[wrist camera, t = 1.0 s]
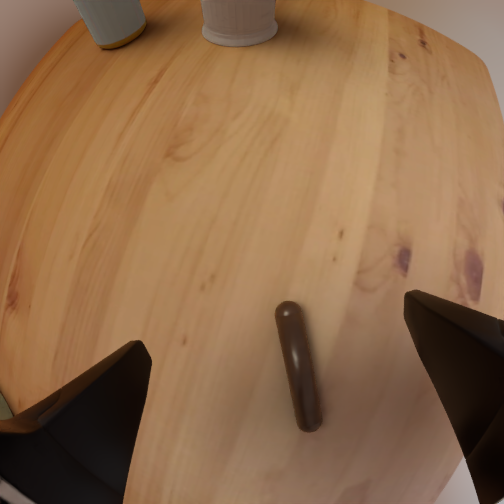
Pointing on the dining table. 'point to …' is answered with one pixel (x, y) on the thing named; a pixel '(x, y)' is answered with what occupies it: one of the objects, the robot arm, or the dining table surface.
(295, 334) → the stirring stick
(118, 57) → the dining table surface
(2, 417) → the bowl
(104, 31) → the bottle
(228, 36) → the glass holder
